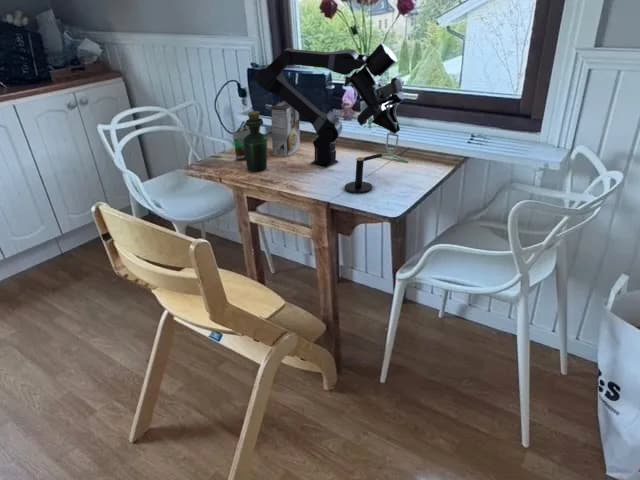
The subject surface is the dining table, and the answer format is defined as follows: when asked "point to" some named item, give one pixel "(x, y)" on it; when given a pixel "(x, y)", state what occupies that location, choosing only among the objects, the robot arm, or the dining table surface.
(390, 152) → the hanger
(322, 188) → the dining table surface
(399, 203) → the dining table surface
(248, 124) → the potion bottle
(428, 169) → the dining table surface
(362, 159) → the black holder stand
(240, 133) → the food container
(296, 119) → the coffee box
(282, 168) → the dining table surface
